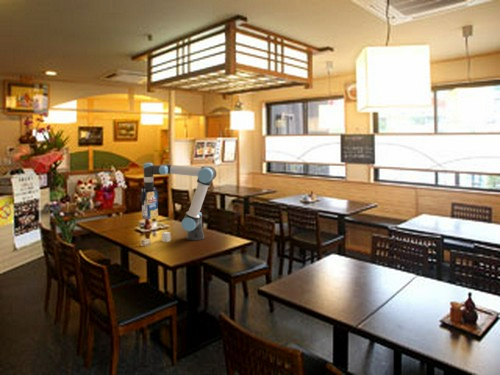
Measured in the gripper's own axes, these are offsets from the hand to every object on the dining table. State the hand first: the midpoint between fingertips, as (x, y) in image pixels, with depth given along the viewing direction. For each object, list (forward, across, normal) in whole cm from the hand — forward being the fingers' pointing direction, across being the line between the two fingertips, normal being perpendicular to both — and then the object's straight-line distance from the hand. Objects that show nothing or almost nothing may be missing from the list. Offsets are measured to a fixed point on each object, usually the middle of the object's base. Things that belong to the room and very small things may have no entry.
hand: (149, 208), depth 303 cm
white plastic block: (+28, -8, +10) cm, 31 cm away
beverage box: (+8, 0, 0) cm, 8 cm away
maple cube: (+28, +11, +7) cm, 31 cm away
